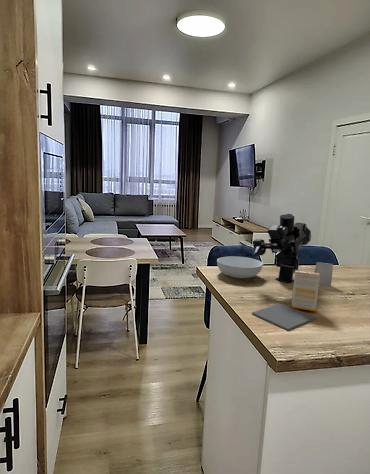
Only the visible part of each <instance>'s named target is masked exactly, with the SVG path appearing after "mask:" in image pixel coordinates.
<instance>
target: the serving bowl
mask: <svg viewBox="0 0 370 474" xmlns="http://www.w3.org/2000/svg"><path fill="white" fill-rule="evenodd" d="M216 263H217V264H216V265H217V268H218V270H219V271H220V272H221V273H222V274H224V275H226V276H228V277H232V278H235V279H249V278H253V277H255V276H258V275H259V274H260V272H261V271H262V269H263V266H264V263H263V262H262V261H260V260H258V259H255V258H251V257H247V256H246V257H245V256H223V257H219V258H217V260H216Z"/></svg>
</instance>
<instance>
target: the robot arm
mask: <svg viewBox="0 0 370 474" xmlns="http://www.w3.org/2000/svg"><path fill="white" fill-rule="evenodd" d="M307 225H308V224H307V223H305V222H304V223H302V222H295V216H294V215H293V214H292V213H286V214H280V216H279V225H276V224H273V225H272V224H271V225H270V226H269V228H268V229H267V231H266V232H267V233H268V237H269V239H268V241H269V242H265V240H264V239H263V238H262V239H258V238H256V239H253V241H252V246H253V250H254V251H253V255H254V257H259V256H264V255H265V254H266V252H267V249H268V250H270V251H271V253H272V254H275V255H274V256H275V258H276V267H277V268H279V271H278V277H276V278H275V280H276V281H280V282H283V283H285V284H290V283H294V273H295V270H297V271H299V264H300V263H298V261H299V259H298V256H299V254H300V250H301V249H302V247H303V246H305V245H309V243H310V242H311V239H312V231H311V230H310V229H309V227H307Z"/></svg>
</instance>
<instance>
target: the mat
mask: <svg viewBox="0 0 370 474" xmlns="http://www.w3.org/2000/svg"><path fill="white" fill-rule="evenodd" d="M251 315H253V316H255V317H258V318H259V319H261V320H263V321H265V322H268V323H271V324H273V325H275V326H277V327H278V328H281V329H284V330H286V331H291V330H293V329H296V328H298V327H300V326H302V325H305V324H308V323H310V322H312V321H315V320H317V317H316V316H315V315H311V314H309V313H307V312H304V311H303V310H300V309H297V308H292V306H290V305H289V306H288V305H286V304H283V303H278V304H274V305H270V306H268V307H265V308H262V309H259V310H256V311H252V312H251Z"/></svg>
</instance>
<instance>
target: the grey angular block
mask: <svg viewBox="0 0 370 474" xmlns="http://www.w3.org/2000/svg"><path fill="white" fill-rule="evenodd" d="M333 267H334V264H333V263H326V262H320V261H319V262H316V263H315V268H314V273H319V274H320V279H319V287H328V288H331V286H332V279H333V270H334V269H333Z"/></svg>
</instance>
